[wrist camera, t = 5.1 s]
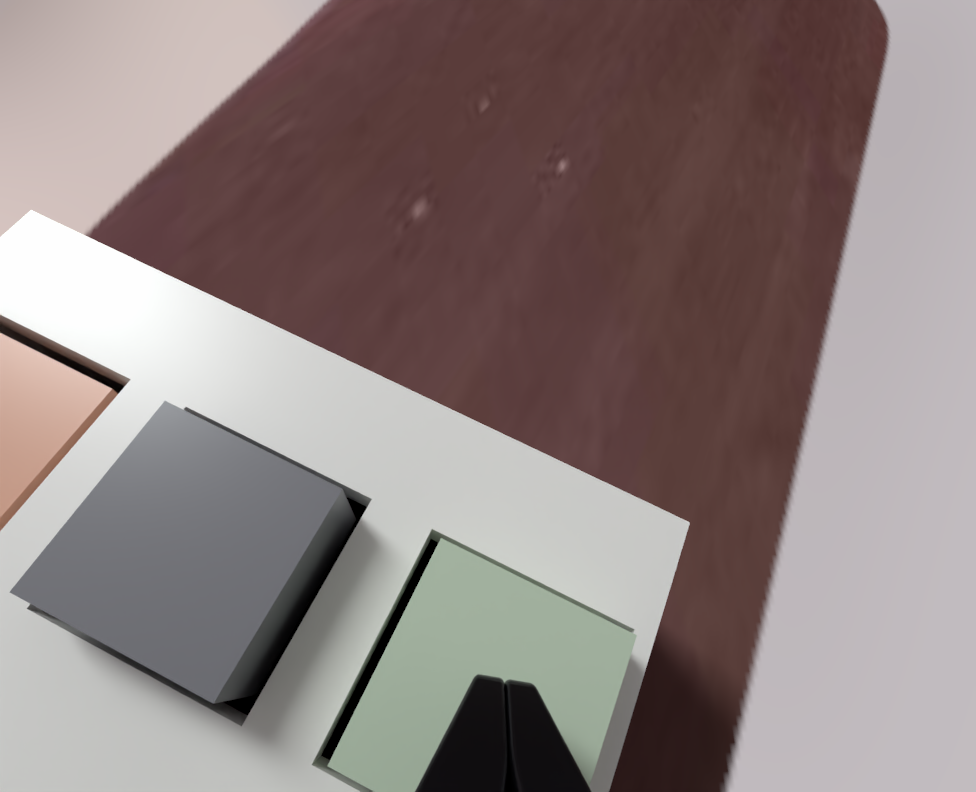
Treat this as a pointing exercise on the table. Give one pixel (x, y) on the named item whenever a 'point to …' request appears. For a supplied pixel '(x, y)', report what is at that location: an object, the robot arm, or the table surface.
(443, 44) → the table surface
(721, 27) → the table surface
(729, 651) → the table surface
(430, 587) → the sage-green button
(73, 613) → the charcoal button
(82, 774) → the button console
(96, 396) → the terracotta button
